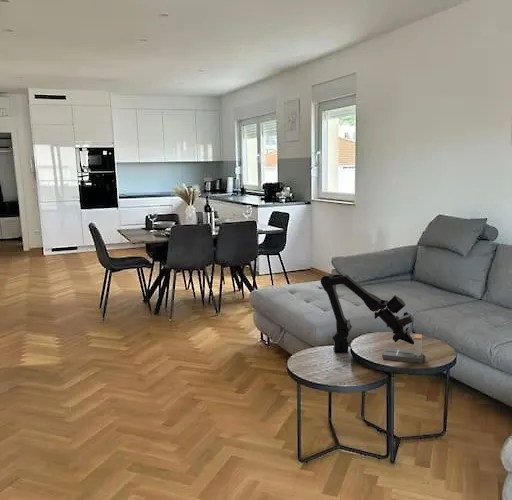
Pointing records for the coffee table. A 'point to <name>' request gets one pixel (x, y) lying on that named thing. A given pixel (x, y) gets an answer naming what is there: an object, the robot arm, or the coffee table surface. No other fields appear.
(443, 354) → the coffee table surface
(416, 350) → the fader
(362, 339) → the coffee table surface
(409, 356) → the plate
